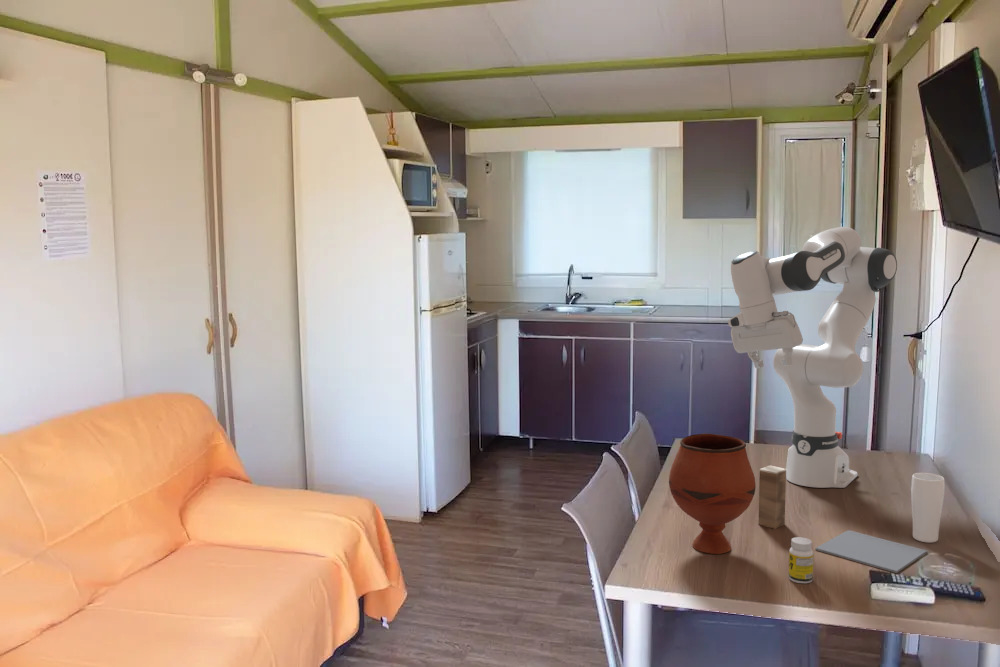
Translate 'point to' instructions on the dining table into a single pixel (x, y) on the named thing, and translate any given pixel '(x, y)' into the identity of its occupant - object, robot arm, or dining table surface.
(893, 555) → the rubber mat
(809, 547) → the supplement bottle
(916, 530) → the drinking glass
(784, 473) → the light wooden block
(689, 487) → the goblet
